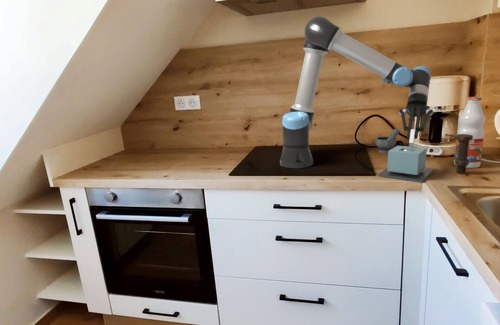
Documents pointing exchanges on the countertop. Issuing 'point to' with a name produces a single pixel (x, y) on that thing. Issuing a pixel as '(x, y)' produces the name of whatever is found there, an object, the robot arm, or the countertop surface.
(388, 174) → the pipe stand
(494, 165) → the countertop surface
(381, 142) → the mortar and pestle
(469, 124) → the fruit juice
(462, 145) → the bolt
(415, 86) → the robot arm
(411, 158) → the sleeve
